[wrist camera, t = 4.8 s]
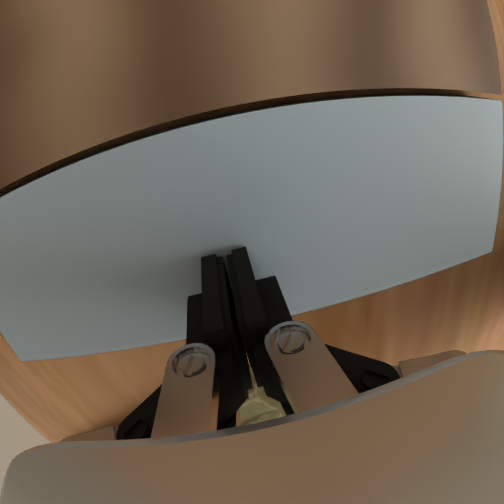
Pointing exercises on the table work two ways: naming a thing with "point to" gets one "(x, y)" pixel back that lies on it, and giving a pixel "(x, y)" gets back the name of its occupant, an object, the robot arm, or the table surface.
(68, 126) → the walnut plank
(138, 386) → the table surface
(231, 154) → the grey-blue plank
